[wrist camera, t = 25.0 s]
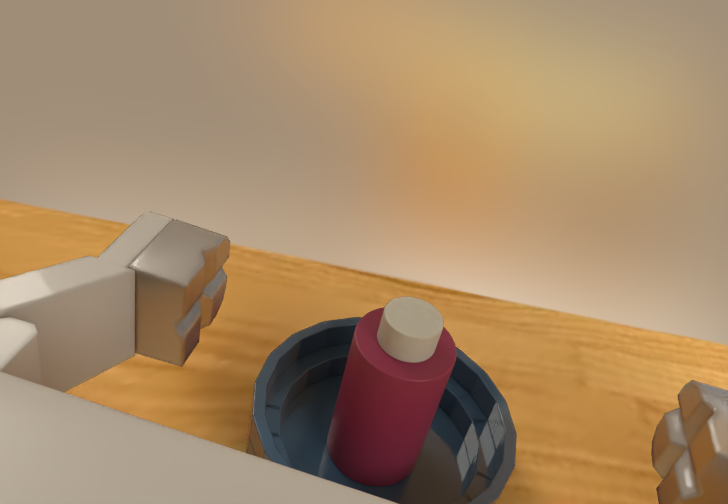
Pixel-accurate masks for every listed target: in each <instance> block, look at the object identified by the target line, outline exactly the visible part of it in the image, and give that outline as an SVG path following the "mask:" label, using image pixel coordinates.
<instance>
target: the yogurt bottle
mask: <svg viewBox="0 0 728 504" xmlns="http://www.w3.org/2000/svg"><path fill="white" fill-rule="evenodd" d="M456 356H457V352H456V346H455V343H454V341H453V338H452V337H451V335H450V334H449V332H448V331H447V330H446V329H445V328H444V321H443V317H442V315H441V314H440V312H439V311H438V310H437V309H436V308H435V307H434V306H433V305H431V304H430V303H428V302H426V301H424V300H421V299H418V298H414V297H398V298H395V299H392V300H391V301H389V302H388V303H387V304H386V306H385V307H384V308H379V309H376V310H373V311H371V312H369V313H367V314H366V315H364V316H363V317H362V318H361V319H360V321H359V322H358V323H357V325H356V328H355V332H354V335H353V339H352V343H351V347H350V351H349V355H348V359H347V363H346V367H345V371H344V374H343V378H342V382H341V386H340V390H339V394H338V398H337V402H336V406H335V410H334V414H333V417H332V421H331V425H330V429H329V433H328V438H327V447H328V451H329V454H330V457H331V459H332V461H333V462H334V464H335V465H336V467H337V468H338V469H339V470H340V471H341V472H342V473H343V474H345V475H346V476H347V477H349V478H350V479H352V480H354V481H356V482H358V483H361V484H364V485H368V486H377V487H382V486H389V485H393V484H396V483H398V482H400V481H402V480H403V479H405V478H406V477H407V476H408V475H409V474H410V473H411V472H412V470H413V469H414V467H415V464H416V462H417V459H418V457H419V454H420V452H421V449H422V446H423V444H424V441H425V439H426V436H427V434H428V431H429V428H430V426H431V423H432V421H433V418H434V416H435V413H436V411H437V408H438V405H439V403H440V400H441V398H442V395H443V393H444V390H445V387H446V385H447V382H448V380H449V377H450V375H451V372H452V369H453V367H454V364H455V361H456Z"/></svg>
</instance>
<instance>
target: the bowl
mask: <svg viewBox="0 0 728 504" xmlns="http://www.w3.org/2000/svg"><path fill="white" fill-rule="evenodd" d="M361 318H362V317H358V318H357V317H353V318H346V319H338V320H330V321H324V322H321V323H318V324H316V325H314V326H311V327H309V328H306V329H304V330H302V331H299V332H297V333H294V334H292V335H291V336H290V337H289V338H288V339H287V340H285V341H284V342H283V343H282V344H281V345H280V346H279V347H277V348H276V349H275V350H274V351H273V352H272V353H270V355H269V356H268V358H267V360H266V362H265V364H264V366H263V368H262V369H261V371H260V373H259V375H258V377H257V379H256V381H255V384H254V390H253V397H252V404H251V410H250V417H249V425H248V438H247V452H246V453H247V454H250V455H254V456H257V457H260V458H263V459H266V460H269V461H272V462H275V463H278V464H281V465H284V466H287V467H290V468H293V469H296V470H299V471H302V472H305V473H308V474H311V475H314V476H317V477H320V478H323V479H326V480H329V481H332V482H335V483H338V484H341V485H344V486H347V487H350V488H353V489H356V490H359V491H362V492H365V493H368V494H371V495H374V496H377V497H380V498H383V499H386V500H389V501H392V502H395V503H398V504H496V502H497V500H498V498H499V496H500V494H501V492H502V490H503V488H504V486H505V484H506V483H507V481H508V479H509V477H510V475H511V473H512V471H513V469H514V466H515V453H516V435H517V434H516V431H515V428H514V424H513V421H512V418H511V415H510V412H509V409H508V406H507V402H506V400H505V399H504V397H503V396H502V395H501V393H500V392H499V390H498V389H497V387H496V386H495V384H494V383H493V382H492V380H491V379H490V377H489V376H488V374H487V373H486V372H485V371H484V370H483V369H482V368H481V367H479V366H478V365H477V364H476V363H475V362H474V361H473V360H471V359H470V358H469V357H468V356H467V355H466V354H465V353H463V352H462V351H461V350H460V349H458V348H457V347H456V352H457V356H456V361H455V364H454V367H453V369H452V372H451V375H450V377H449V380H448V382H447V385H446V387H445V390H444V393H443V395H442V398H441V400H440V403H439V405H438V408H437V411H436V413H435V416H434V418H433V421H432V423H431V426H430V428H429V431H428V434H427V436H426V439H425V441H424V444H423V446H422V449H421V452H420V454H419V457H418V459H417V462H416V464H415V467H414V469H413V470H412V472H411V473H410V474H409V475H408V476H407V477H406V478H405V479H403V480H402V481H400V482H398V483H396V484H393V485H389V486H382V487H377V486H368V485H364V484H361V483H358V482H356V481H354V480H352V479H350V478H349V477H347V476H346V475H345V474H343V473H342V472H341V471H340V470H339V469H338V468H337V467H336V465H335V464H334V462H333V461H332V459H331V457H330V454H329V451H328V447H327V438H328V433H329V429H330V425H331V421H332V417H333V414H334V410H335V406H336V402H337V398H338V394H339V390H340V386H341V382H342V378H343V374H344V371H345V367H346V363H347V359H348V355H349V351H350V347H351V343H352V339H353V335H354V332H355V328H356V325H357V323H358V322H359V321H360V319H361Z"/></svg>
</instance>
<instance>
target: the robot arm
mask: <svg viewBox="0 0 728 504" xmlns="http://www.w3.org/2000/svg"><path fill="white" fill-rule="evenodd" d="M229 250H230V240H229V239H228V237H227V236H224V235H221V234H218V233H215V232H212V231H209V230H206V229H203V228H200V227H197V226H194V225H191V224H188V223H185V222H182V221H179V220H174V219H172V218H169V217H166V216H163V215H160V214H156V213H153V212H145V213H143V214H142V215H141V216H140V217H139V218H138V219H137V220H136V221H134V222H133V223H132V224H131V225H130V226H129V227H128V228H127V229H126V230H125V231H124V232H123V233H122V234H121V235H120V236H119V237H118V238H117V239H116V240H115V241H114V242H113V243H112V244H111V245H110V246H109V247H108V248H107V249H106V250H105V251H104V252H103V253H102V254H101V255H100V256H98V257H97V258H95V257H92V256H86V257H82V258H79V259H75V260H71V261H68V262H64V263H60V264H57V265H53V266H49V267H46V268H42V269H39V270H35V271H31V272H28V273H24V274H20V275H17V276H13V277H9V278H6V279H2V280H0V504H398V503H395V502H392V501H389V500H386V499H383V498H380V497H377V496H374V495H371V494H368V493H365V492H362V491H359V490H356V489H353V488H350V487H347V486H344V485H341V484H338V483H335V482H332V481H329V480H326V479H323V478H320V477H317V476H314V475H311V474H308V473H305V472H302V471H299V470H296V469H293V468H290V467H287V466H284V465H281V464H278V463H275V462H272V461H269V460H266V459H263V458H260V457H257V456H254V455H250V454H247V453H244V452H241V451H238V450H235V449H232V448H229V447H226V446H223V445H220V444H217V443H214V442H211V441H208V440H205V439H202V438H199V437H196V436H193V435H190V434H187V433H184V432H181V431H178V430H175V429H172V428H169V427H166V426H163V425H160V424H157V423H154V422H151V421H148V420H145V419H142V418H139V417H136V416H133V415H130V414H127V413H124V412H121V411H118V410H115V409H112V408H109V407H106V406H103V405H100V404H97V403H94V402H91V401H88V400H85V399H82V398H79V397H76V396H73V395H70V394H67V393H64V392H66V391H68V390H70V389H71V388H73V387H75V386H77V385H79V384H81V383H83V382H85V381H87V380H89V379H91V378H93V377H95V376H96V375H98V374H100V373H102V372H104V371H106V370H108V369H110V368H112V367H114V366H116V365H118V364H120V363H122V362H123V361H125V360H127V359H129V358H131V357H133V356H135V353H137V354H140V355H144V356H147V357H151V358H154V359H157V360H161V361H164V362H167V363H171V364H174V365H178V366H181V367H182V366H183V364H184V363H185V361H186V360H187V358H188V357H189V356H190V354H191V353H192V351H193V350H194V348H195V347H196V345H197V344H198V342H199V335H200V329H202V328H204V327H207V326H209V325H210V324H211V323H212V321H213V319H214V318H215V316H216V315H217V312H218V310H219V308H220V305H221V303H222V300H223V297H224V293H225V289H226V281H227V276H226V274H225V272H224V270H223V269H222V266H223V264H224V263H225V262H226V260H227V259H228V257H229ZM678 400H679V405H680V408H677V409H675V410H672V411H670V412H667V413H665V414H664V416H663V418H662V419H661V421H660V422H659V424H658V426H657V427H656V431H655V434H654V437H653V441H652V452H651V455H652V462H653V467H654V468H655V470H656V471H657V472H658V473H659V475H660V476H661V477H662V479H663V480H662V482H661V483H660V484H659V486H658V487H657V495H658V501H659V504H728V391H727V390H724V389H721V388H717V387H714V386H711V385H707V384H704V383H701V382H698V381H694V380H691V381H690V382H689V383H687V384H686V385H685V386H684V387H683V389H682V390H681V391H680V393H679V394H678Z"/></svg>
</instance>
